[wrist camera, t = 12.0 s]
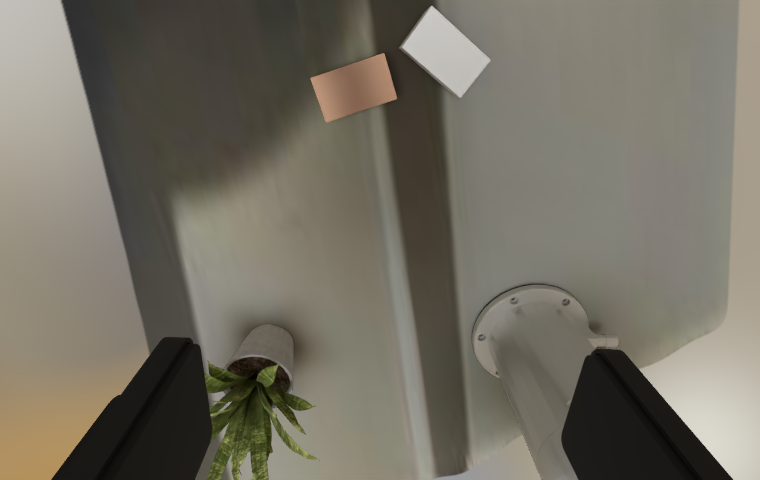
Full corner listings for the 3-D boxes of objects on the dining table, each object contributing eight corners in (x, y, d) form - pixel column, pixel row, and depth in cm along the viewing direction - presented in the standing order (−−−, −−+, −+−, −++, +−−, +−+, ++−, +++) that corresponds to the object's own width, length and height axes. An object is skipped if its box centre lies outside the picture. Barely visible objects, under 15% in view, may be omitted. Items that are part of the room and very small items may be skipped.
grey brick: (479, 59, 35) (490, 60, 32) (452, 94, 36) (460, 98, 33) (425, 10, 34) (431, 5, 30) (398, 48, 35) (401, 47, 32)
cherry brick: (382, 53, 35) (384, 52, 32) (394, 95, 36) (397, 98, 33) (315, 76, 35) (310, 78, 32) (329, 116, 37) (326, 122, 34)
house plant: (168, 343, 46) (72, 482, 31) (240, 260, 42) (171, 373, 27) (272, 407, 50) (232, 556, 35) (347, 337, 46) (338, 471, 31)
